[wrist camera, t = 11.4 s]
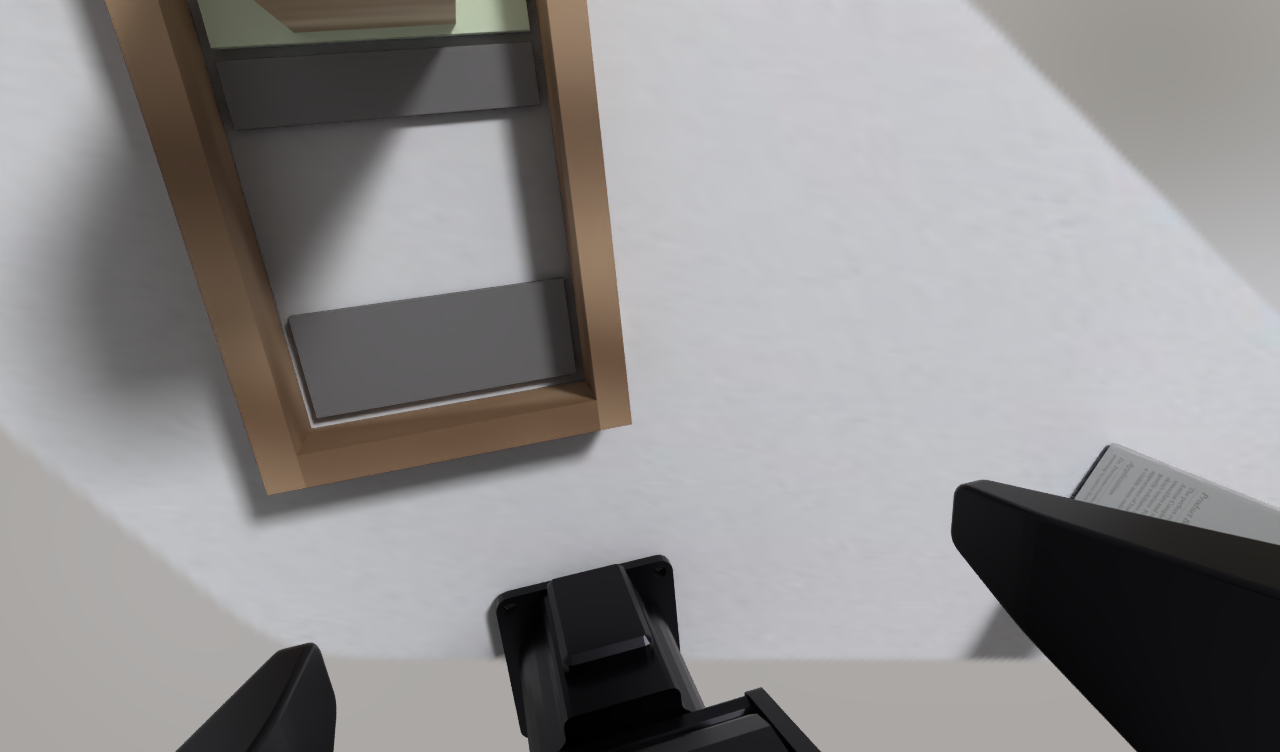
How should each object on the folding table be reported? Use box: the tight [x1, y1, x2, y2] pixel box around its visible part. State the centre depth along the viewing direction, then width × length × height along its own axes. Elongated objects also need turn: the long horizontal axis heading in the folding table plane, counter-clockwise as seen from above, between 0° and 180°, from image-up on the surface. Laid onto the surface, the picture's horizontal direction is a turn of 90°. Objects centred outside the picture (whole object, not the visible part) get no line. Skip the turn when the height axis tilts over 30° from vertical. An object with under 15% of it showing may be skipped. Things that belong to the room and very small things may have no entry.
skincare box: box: [1074, 443, 1280, 545], centre depth 24 cm, size 6×4×12 cm
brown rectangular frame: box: [105, 0, 632, 495], centre depth 17 cm, size 16×10×2 cm, turn 6°
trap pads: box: [215, 42, 576, 418], centre depth 19 cm, size 10×8×1 cm
